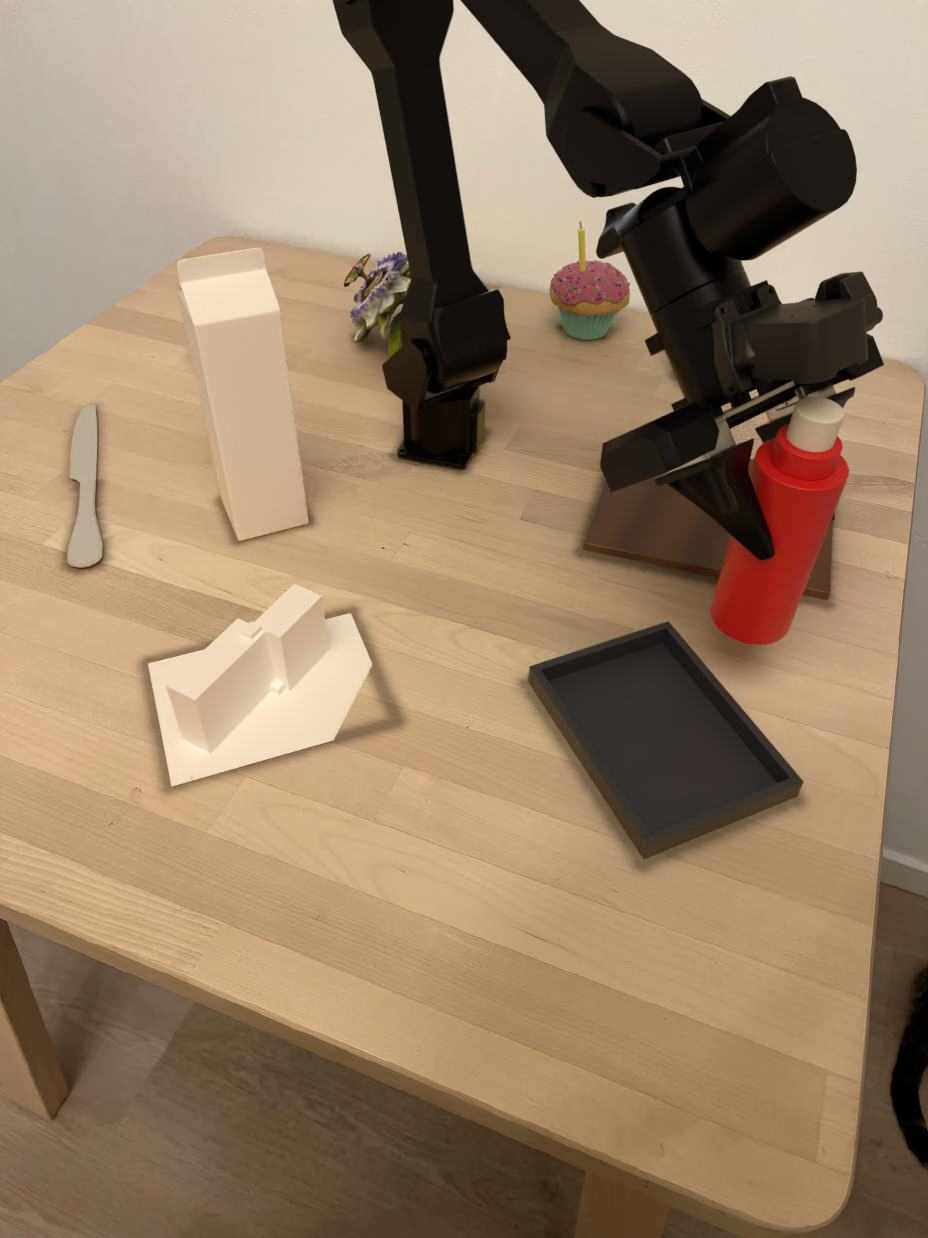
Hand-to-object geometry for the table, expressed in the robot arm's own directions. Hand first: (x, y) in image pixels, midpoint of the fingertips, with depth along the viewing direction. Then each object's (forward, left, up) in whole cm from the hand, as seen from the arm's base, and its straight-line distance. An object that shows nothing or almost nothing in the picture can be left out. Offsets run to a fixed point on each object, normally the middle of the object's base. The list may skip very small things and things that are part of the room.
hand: (797, 540), depth 56 cm
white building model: (-31, -11, -13) cm, 36 cm away
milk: (-40, +7, -13) cm, 43 cm away
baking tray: (-5, -7, -13) cm, 16 cm away
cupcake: (-21, +47, -13) cm, 54 cm away
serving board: (-4, +18, -13) cm, 23 cm away
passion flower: (-39, +38, -13) cm, 57 cm away
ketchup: (-1, +1, -8) cm, 8 cm away
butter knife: (-57, +7, -13) cm, 59 cm away
